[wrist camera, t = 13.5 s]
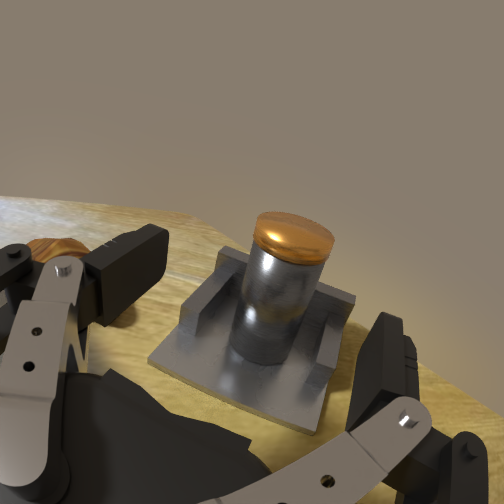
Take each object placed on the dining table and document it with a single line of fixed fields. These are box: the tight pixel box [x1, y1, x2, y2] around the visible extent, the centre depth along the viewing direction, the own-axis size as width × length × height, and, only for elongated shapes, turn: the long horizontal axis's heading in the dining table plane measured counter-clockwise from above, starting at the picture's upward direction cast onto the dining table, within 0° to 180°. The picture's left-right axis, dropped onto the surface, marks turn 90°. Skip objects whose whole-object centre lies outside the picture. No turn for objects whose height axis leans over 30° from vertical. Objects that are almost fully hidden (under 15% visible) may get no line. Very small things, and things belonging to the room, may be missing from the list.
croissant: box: [26, 238, 91, 263], centre depth 25 cm, size 14×7×5 cm, turn 63°
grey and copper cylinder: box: [229, 212, 335, 365], centre depth 23 cm, size 5×5×10 cm
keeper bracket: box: [147, 246, 356, 436], centre depth 24 cm, size 12×12×5 cm
